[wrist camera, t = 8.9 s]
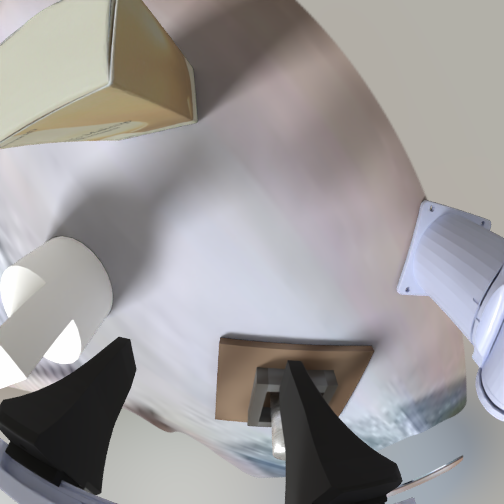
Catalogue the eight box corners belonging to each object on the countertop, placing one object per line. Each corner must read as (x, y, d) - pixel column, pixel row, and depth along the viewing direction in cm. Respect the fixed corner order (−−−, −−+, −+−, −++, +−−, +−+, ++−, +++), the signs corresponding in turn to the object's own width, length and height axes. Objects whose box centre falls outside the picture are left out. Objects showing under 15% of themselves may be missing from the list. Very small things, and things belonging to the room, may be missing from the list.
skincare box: (117, 142, 16) (-23, 160, 5) (112, 87, 15) (-19, 58, 3) (203, 123, 16) (112, 87, 5) (197, 64, 15) (118, -34, 3)
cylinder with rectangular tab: (77, 333, 23) (21, 416, 12) (27, 263, 20) (-51, 328, 9) (131, 304, 21) (66, 415, 10) (72, 216, 18) (-37, 286, 7)
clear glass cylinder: (301, 377, 23) (311, 439, 17) (310, 397, 24) (319, 454, 18) (264, 387, 24) (266, 448, 17) (276, 406, 25) (279, 463, 18)
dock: (371, 345, 23) (381, 365, 20) (333, 417, 27) (337, 435, 25) (220, 337, 22) (216, 360, 20) (215, 413, 27) (213, 433, 24)
